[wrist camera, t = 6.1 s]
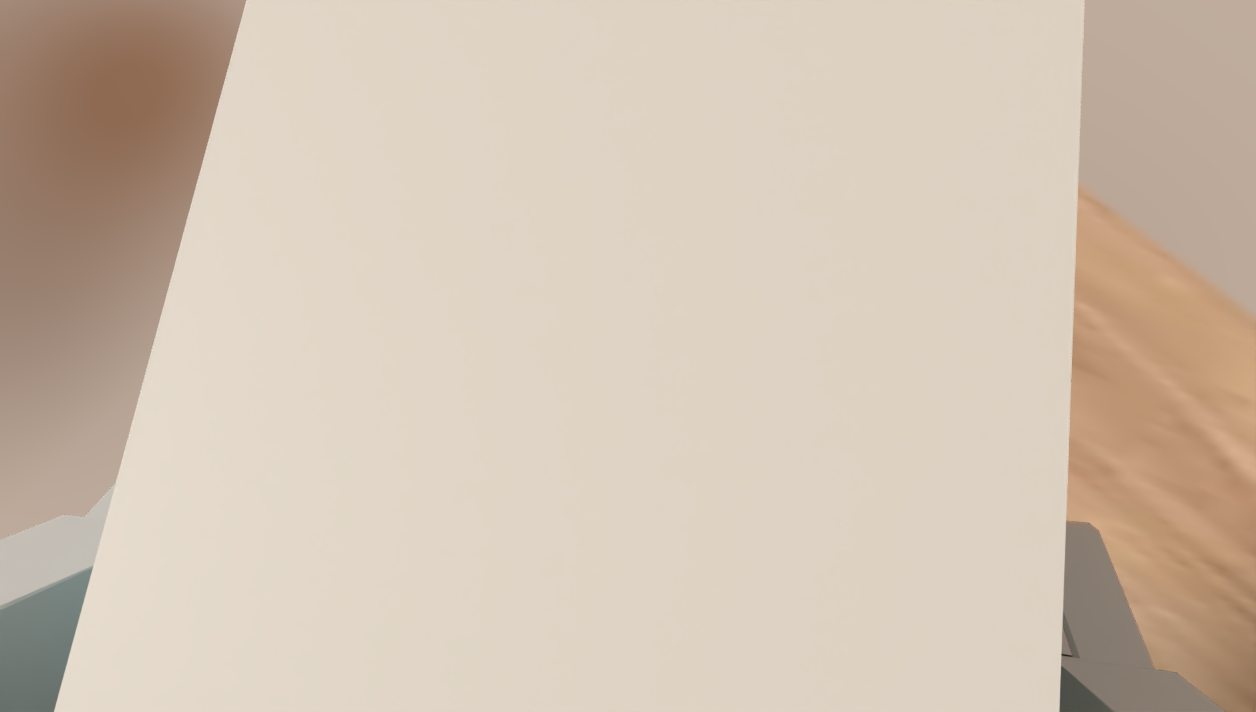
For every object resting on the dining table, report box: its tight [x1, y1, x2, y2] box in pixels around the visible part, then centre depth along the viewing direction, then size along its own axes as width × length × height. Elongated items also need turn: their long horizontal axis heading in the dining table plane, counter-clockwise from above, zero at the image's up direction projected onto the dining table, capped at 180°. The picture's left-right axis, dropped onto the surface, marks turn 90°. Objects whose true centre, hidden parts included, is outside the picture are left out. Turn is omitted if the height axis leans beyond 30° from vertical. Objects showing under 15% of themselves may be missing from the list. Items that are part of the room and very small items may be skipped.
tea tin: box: [54, 0, 1084, 712], centre depth 9 cm, size 4×6×9 cm
